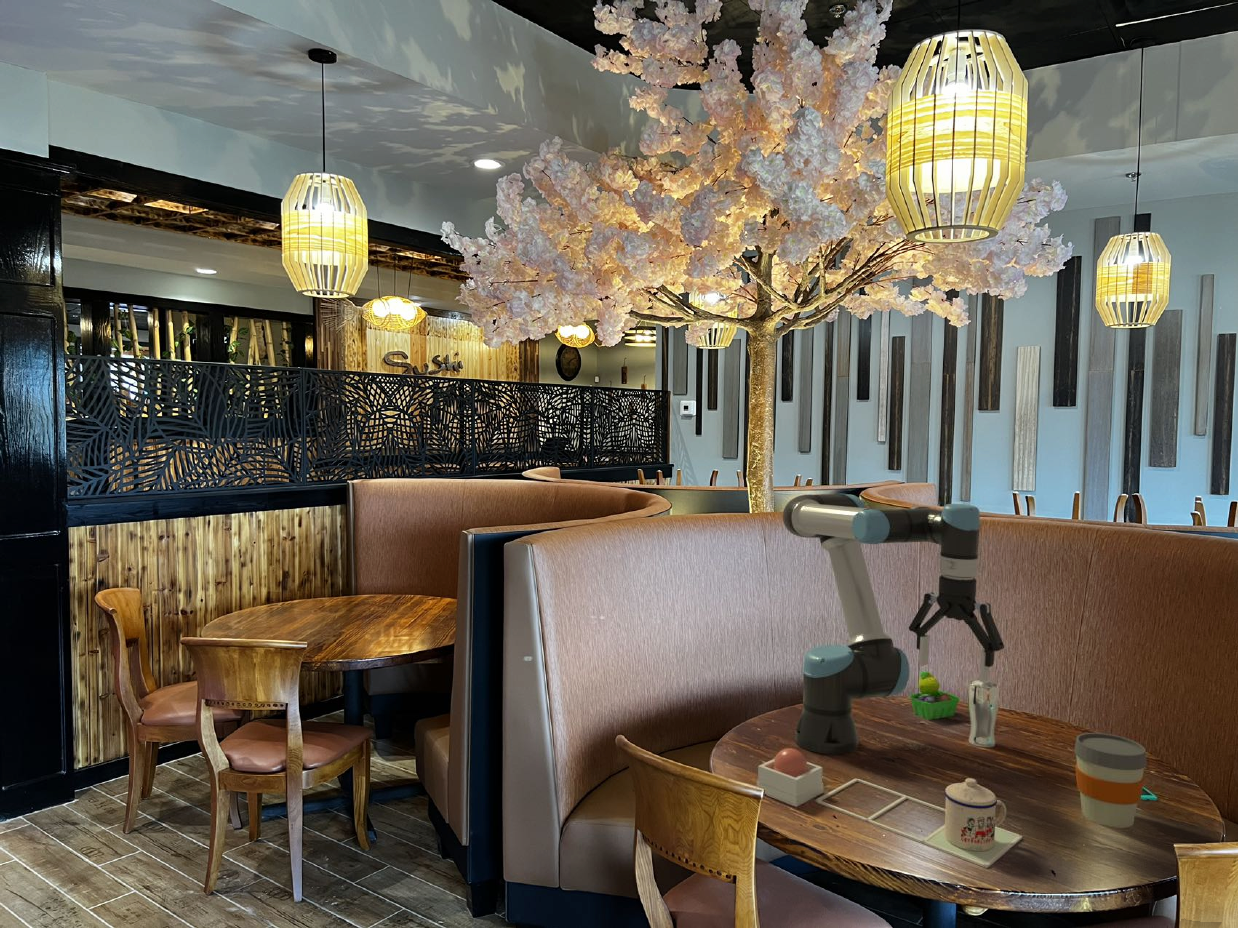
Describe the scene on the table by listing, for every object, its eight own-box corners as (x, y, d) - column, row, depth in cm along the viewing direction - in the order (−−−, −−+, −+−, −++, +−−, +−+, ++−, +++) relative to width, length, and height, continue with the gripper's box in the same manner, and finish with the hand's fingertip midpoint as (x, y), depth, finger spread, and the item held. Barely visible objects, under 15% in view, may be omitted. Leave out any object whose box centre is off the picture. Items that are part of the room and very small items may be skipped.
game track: (814, 801, 173) (815, 799, 173) (855, 779, 185) (856, 777, 185) (987, 868, 148) (987, 866, 148) (1022, 837, 159) (1022, 835, 159)
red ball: (766, 781, 178) (767, 748, 178) (785, 772, 183) (786, 740, 182) (794, 791, 173) (795, 758, 173) (813, 782, 178) (814, 749, 177)
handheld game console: (1117, 771, 192) (1117, 766, 192) (1159, 803, 176) (1159, 796, 176) (1072, 770, 192) (1073, 764, 192) (1110, 801, 177) (1110, 795, 176)
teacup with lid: (962, 854, 152) (963, 792, 151) (933, 831, 161) (935, 771, 160) (1020, 849, 154) (1022, 787, 154) (989, 825, 163) (991, 767, 163)
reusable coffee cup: (1114, 801, 175) (1116, 731, 174) (1159, 830, 163) (1162, 754, 162) (1058, 804, 174) (1061, 733, 173) (1100, 833, 161) (1103, 757, 161)
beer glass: (999, 741, 208) (1001, 682, 208) (994, 750, 202) (996, 689, 202) (969, 735, 212) (971, 677, 211) (964, 744, 206) (966, 684, 205)
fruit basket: (927, 722, 222) (928, 680, 221) (904, 711, 230) (905, 671, 229) (960, 717, 226) (962, 676, 225) (937, 707, 234) (938, 667, 234)
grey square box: (756, 791, 178) (757, 765, 178) (783, 777, 185) (784, 753, 185) (796, 806, 171) (796, 780, 171) (823, 792, 178) (823, 767, 178)
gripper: (896, 568, 187) (891, 661, 189) (1009, 588, 169) (1003, 691, 170) (912, 565, 192) (908, 655, 194) (1024, 584, 174) (1018, 683, 175)
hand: (952, 672), depth 182 cm, fingers open, 13 cm apart
